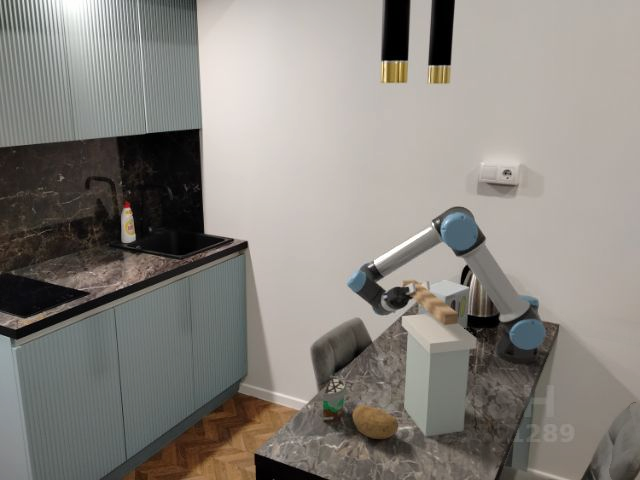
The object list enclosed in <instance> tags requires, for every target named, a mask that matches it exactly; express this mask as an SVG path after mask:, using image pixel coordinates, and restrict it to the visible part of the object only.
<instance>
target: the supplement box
mask: <svg viewBox="0 0 640 480" xmlns="http://www.w3.org/2000/svg"><path fill="white" fill-rule="evenodd" d="M429 286H430V290H429V291H430V292H431V293H432V294H434V295H435V296H436V297H438V298H439V299H440V300H441V301H443V302H444V303H445V304H447V305H448V306H449V307H450V308H452V309H453V310H454V311H456V312H457V313H458V324H460V325H461V326H462V327H463V328H465V329H467V326H468V313H469V303H470V302H469V301H470V300H469V299H470V286H466V285H463V284H460V283H457V282H453V281H450V280H447V279H443V280H439V281H437V282H434V283H429ZM417 313H418V314H417V315H420V314H430V312H429V311H427V310H426V309H425V308H424V307H423V306H422V305H420V304H419V303H418V312H417Z"/></svg>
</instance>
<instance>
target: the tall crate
mask: <svg viewBox="0 0 640 480" xmlns="http://www.w3.org/2000/svg"><path fill="white" fill-rule="evenodd" d="M401 326H402V328H403V329H404V330H406V332H407V341H406V342H407V345H406V361H405V362H406V363H405V367H406V368H405V384H404V385H405V386H404V402H403V403H404V404H403V407H404V408H403V409H404V410H405V411H406V412H407V414H408V416H409V417H410V418H411V420H412V421H413V422H414V423H415V424H416V426H417V427H418V429H419V430H420V432H421V433H422V434H423V436H424V437H426V438H427V437H432V436H440V435H445V434H446V435H447V434H452V433H460V432H464V427H465V413H466V402H467V388H468V377H469V376H468V374H469V363H470V362H469V361H470V353H471V352H470V351H471V350H472V349H476V348H477V340H478V339H477V337H476V336H474V335H473V334H472V333H470V332H469V331H468V330H467V328H465V329H464V328H463V327H462V326H461V325H460V324H449V325H444V324H443V323H441V322H440V321H439V320H438V319H437V318H436V317H434V316H433V315H432V314H431V313H430V314H420V315H418V314H414V315H413V314H412V315H403V316H401Z"/></svg>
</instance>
